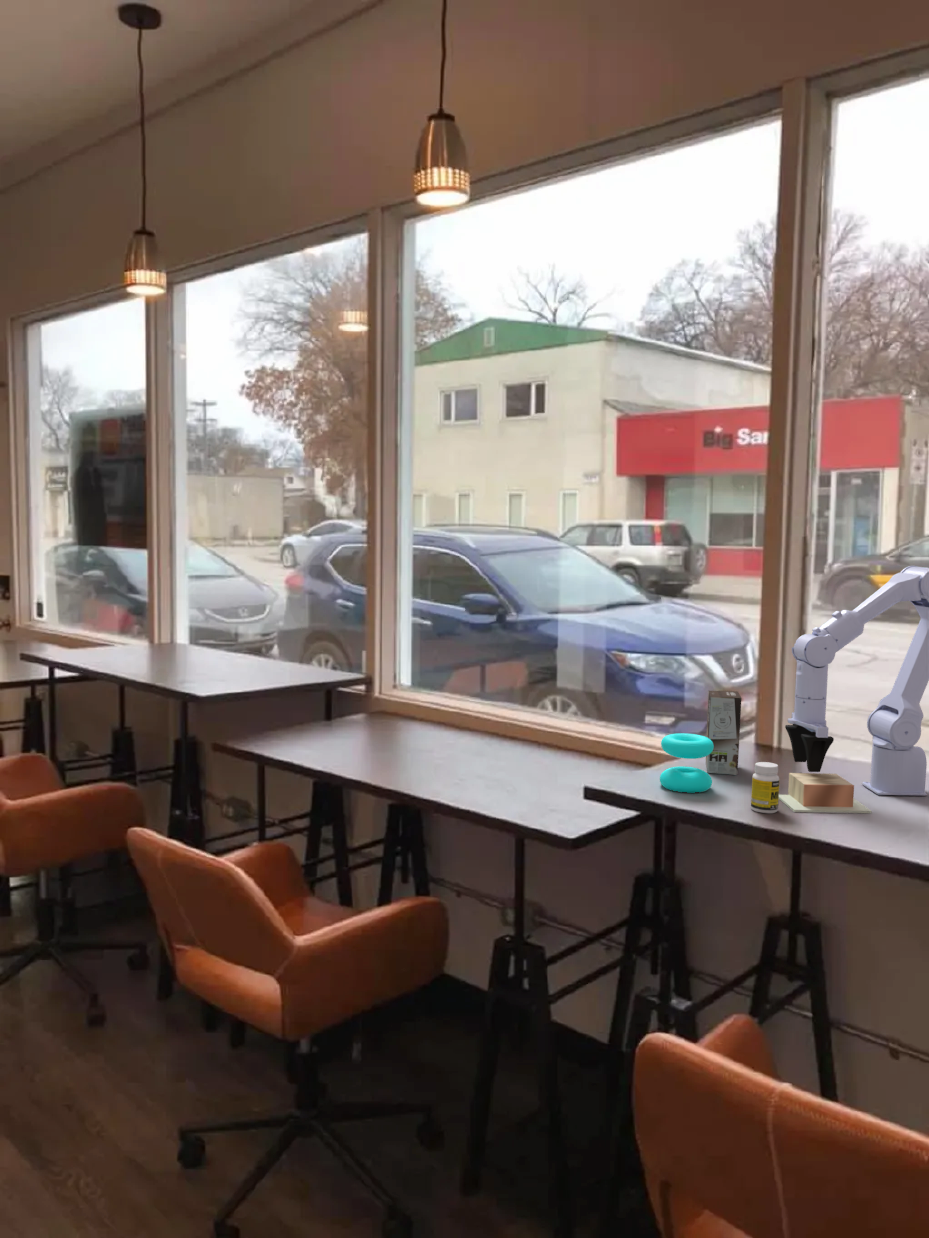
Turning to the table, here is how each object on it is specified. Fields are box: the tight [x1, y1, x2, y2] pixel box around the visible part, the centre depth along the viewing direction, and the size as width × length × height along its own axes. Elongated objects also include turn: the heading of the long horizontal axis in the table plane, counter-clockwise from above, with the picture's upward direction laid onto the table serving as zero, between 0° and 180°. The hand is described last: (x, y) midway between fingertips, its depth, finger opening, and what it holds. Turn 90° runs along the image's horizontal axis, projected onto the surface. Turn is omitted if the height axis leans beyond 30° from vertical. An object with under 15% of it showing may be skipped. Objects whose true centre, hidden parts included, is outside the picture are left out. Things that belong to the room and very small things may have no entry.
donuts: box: [659, 732, 714, 794], centre depth 193 cm, size 10×10×10 cm
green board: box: [778, 794, 873, 814], centre depth 183 cm, size 14×10×1 cm
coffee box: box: [705, 690, 742, 776], centre depth 208 cm, size 9×6×16 cm
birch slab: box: [787, 772, 855, 807], centre depth 185 cm, size 9×4×8 cm
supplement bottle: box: [750, 761, 780, 814], centre depth 179 cm, size 5×5×8 cm
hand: (806, 766), depth 192 cm, fingers open, 7 cm apart
